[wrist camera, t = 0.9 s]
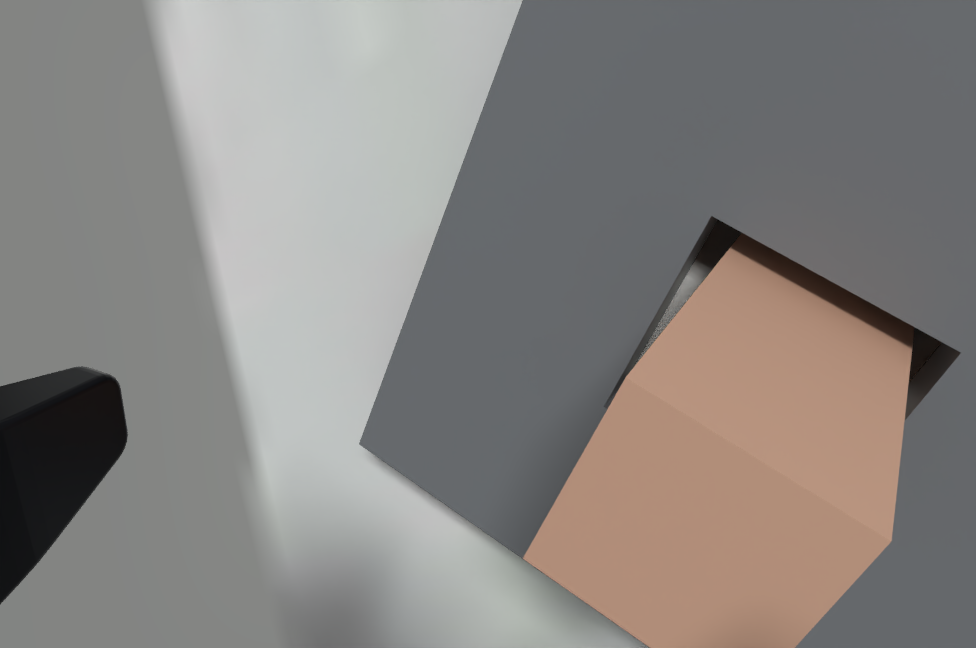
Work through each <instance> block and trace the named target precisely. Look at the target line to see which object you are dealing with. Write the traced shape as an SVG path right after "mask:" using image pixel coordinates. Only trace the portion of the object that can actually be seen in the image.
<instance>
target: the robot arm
mask: <svg viewBox="0 0 976 648" xmlns="http://www.w3.org/2000/svg"><path fill="white" fill-rule="evenodd" d="M127 433H128V432H127V426H126V419H125V413H124V406H123V400H122V394H121V388H120V385H119V383H118V381H117V380H116V378H115V377H113V376H112V375H110V374H107V373H103V372H101V371H98V370H95V369H92V368H89V367H74V368H70V369H66V370H63V371H58V372H55V373H51V374H47V375H43V376H39V377H35V378H32V379H27V380H23V381H20V382H16V383H12V384H8V385H4V386H0V604H1V603H2V602H3V601H4V600H5V599H6V598H7V596H8V595H9V594H10V593H11V592H12V591H13V590H14V589H15V588H16V587H17V586H18V585H19V584H20V582H21V581H22V580H23V579H24V578H25V577H26V576H27V575H28V573H29V572H30V571H31V570H32V569H33V568H34V567H35V566H36V564H37V563H38V562H39V561H40V560H41V558H42V557H43V556H44V555H45V553H46V552H47V550H49V548H50V547H51V546H52V544H53V543H54V542H55V541H56V539H57V538H58V537H59V536H60V534H61V533H62V532H63V530H64V529H65V528H66V526H67V525H68V524H69V522H70V521H71V520H72V518H73V517H74V516H75V515H76V513H77V512H78V511H79V509H80V508H81V507H82V506H83V504H84V503H85V502H86V500H87V499H88V498H89V496H90V495H91V494H92V492H93V491H94V490H95V489H96V487H97V486H98V485H99V483H100V482H101V481H102V480H103V478H104V477H105V476H106V474H107V473H108V472H109V470H110V469H111V467H112V466H113V465H114V464H115V463H116V461H117V460H118V459H119V457H120V456H121V454H122V452H123V450H124V448H125V446H126V442H127V436H128V434H127Z"/></svg>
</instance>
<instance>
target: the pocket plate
mask: <svg viewBox="0 0 976 648" xmlns="http://www.w3.org/2000/svg"><path fill="white" fill-rule="evenodd" d="M717 220H720V221H722V222H724V223H725V224H727V225H729V226H731V227H733V228H735V229H736V230H738V231H740V232H742V233H744V234H745V235H747V236H749V237H751V238H753V239H755V240H756V241H758V242H760V243H762V244H764V245H766V246H767V247H769V248H771V249H773V250H775V251H776V252H778V253H780V254H782V255H784V256H786V257H787V258H789V259H791V260H793V261H795V262H797V263H798V264H800V265H802V266H804V267H806V268H807V269H809V270H811V271H813V272H815V273H817V274H818V275H820V276H822V277H824V278H826V279H828V280H829V281H831V282H833V283H835V284H837V285H839V286H840V287H842V288H844V289H846V290H848V291H849V292H851V293H853V294H855V295H857V296H859V297H860V298H862V299H864V300H866V301H868V302H870V303H871V304H873V305H875V306H877V307H879V308H880V309H882V310H884V311H886V312H888V313H890V314H891V315H893V316H895V317H897V318H899V319H901V320H902V321H904V322H906V323H908V324H910V325H911V326H913V327H915V328H917V329H919V330H921V331H922V332H924V333H926V334H928V335H930V336H932V337H933V338H935V339H937V340H939V341H941V342H942V343H941V344H940V346H939V347H938V348H937V349H936V351H935V352H934V353H933V354H932V356H931V357H930V358H929V359H928V361H927V362H926V363H925V364H924V366H923V367H922V368H921V369H920V371H919V372H918V373H917V374H916V375H915V377H914V378H913V379H912V380H911V382H910V383H909V384H908V393H907V402H906V412H905V421H904V430H903V440H902V449H901V458H900V467H899V477H898V486H897V495H896V505H895V514H894V523H893V532H892V541H891V542H890V544H889V545H888V546H887V547H886V548H885V549H884V550H883V551H882V552H881V553H880V555H879V556H878V557H877V558H876V559H875V560H874V561H873V562H872V563H871V564H870V566H869V567H868V568H867V569H866V570H865V571H864V572H863V573H862V574H861V575H860V577H859V578H858V579H857V580H856V581H855V582H854V583H853V584H852V585H851V586H850V587H849V589H848V590H847V591H846V592H845V593H844V594H843V595H842V596H841V597H840V598H839V600H838V601H837V602H836V603H835V604H834V605H833V606H832V607H831V608H830V609H829V611H828V612H827V613H826V614H825V615H824V616H823V617H822V618H821V619H820V620H819V622H818V623H817V624H816V625H815V626H814V627H813V628H812V629H811V630H810V631H809V633H808V634H807V635H806V636H805V637H804V638H803V639H802V640H801V641H800V642H799V644H798V645H797V646H796V647H795V648H976V0H523V1H522V4H521V7H520V9H519V12H518V15H517V18H516V20H515V23H514V26H513V28H512V31H511V34H510V37H509V39H508V42H507V45H506V47H505V50H504V53H503V56H502V58H501V61H500V64H499V66H498V69H497V72H496V75H495V77H494V80H493V83H492V85H491V88H490V91H489V93H488V96H487V99H486V102H485V104H484V107H483V110H482V112H481V115H480V118H479V121H478V123H477V126H476V129H475V131H474V134H473V137H472V140H471V142H470V145H469V148H468V150H467V153H466V156H465V159H464V161H463V164H462V167H461V169H460V172H459V175H458V178H457V180H456V183H455V186H454V188H453V191H452V194H451V196H450V199H449V202H448V205H447V207H446V210H445V213H444V215H443V218H442V221H441V224H440V226H439V229H438V232H437V234H436V237H435V240H434V243H433V245H432V248H431V251H430V253H429V256H428V259H427V262H426V264H425V267H424V270H423V272H422V275H421V278H420V281H419V283H418V286H417V289H416V291H415V294H414V297H413V299H412V302H411V305H410V308H409V310H408V313H407V316H406V318H405V321H404V324H403V327H402V329H401V332H400V335H399V337H398V340H397V343H396V346H395V348H394V351H393V354H392V356H391V359H390V362H389V365H388V367H387V370H386V373H385V375H384V378H383V381H382V383H381V386H380V389H379V392H378V394H377V397H376V400H375V402H374V405H373V408H372V411H371V413H370V416H369V419H368V421H367V424H366V427H365V430H364V432H363V435H362V438H361V440H360V443H359V444H360V445H361V446H363V447H364V448H365V449H367V450H368V451H370V452H371V453H373V454H374V455H375V456H377V457H378V458H380V459H381V460H383V461H384V462H385V463H387V464H388V465H390V466H391V467H393V468H394V469H395V470H397V471H398V472H400V473H401V474H403V475H404V476H405V477H407V478H408V479H410V480H411V481H413V482H414V483H415V484H417V485H418V486H420V487H421V488H422V489H424V490H425V491H427V492H428V493H430V494H431V495H432V496H434V497H435V498H437V499H438V500H440V501H441V502H442V503H444V504H445V505H447V506H448V507H450V508H451V509H452V510H454V511H455V512H457V513H458V514H460V515H461V516H462V517H464V518H465V519H467V520H468V521H470V522H471V523H472V524H474V525H475V526H477V527H478V528H480V529H481V530H482V531H484V532H485V533H487V534H488V535H490V536H491V537H492V538H494V539H495V540H497V541H498V542H500V543H501V544H502V545H504V546H505V547H507V548H508V549H510V550H511V551H512V552H514V553H515V554H517V555H518V556H520V557H521V558H522V559H523V557H524V555H525V554H526V552H527V550H528V548H529V547H530V545H531V543H532V541H533V540H534V538H535V536H536V534H537V532H538V531H539V529H540V527H541V525H542V524H543V522H544V520H545V518H546V517H547V515H548V513H549V511H550V510H551V508H552V506H553V504H554V503H555V501H556V499H557V497H558V496H559V494H560V492H561V490H562V488H563V487H564V485H565V483H566V481H567V480H568V478H569V476H570V474H571V473H572V471H573V469H574V467H575V466H576V464H577V462H578V460H579V459H580V457H581V455H582V453H583V452H584V450H585V448H586V446H587V444H588V443H589V441H590V439H591V437H592V436H593V434H594V432H595V430H596V429H597V427H598V425H599V423H600V422H601V420H602V418H603V416H604V415H605V413H606V411H607V409H608V408H609V406H610V404H611V402H612V400H613V399H614V397H615V395H616V393H617V392H618V390H619V388H620V386H621V385H622V383H623V381H624V379H625V378H626V376H627V375H628V374H629V373H630V371H631V370H632V369H633V367H634V365H635V364H636V362H637V360H638V358H639V357H640V355H641V353H642V351H643V350H644V348H645V346H646V344H647V343H648V341H649V339H650V337H651V336H652V334H653V332H654V330H655V329H656V327H657V325H658V323H659V322H660V320H661V318H662V316H663V315H664V313H665V311H666V309H667V308H668V306H669V304H670V302H671V301H672V299H673V297H674V295H675V294H676V292H677V290H678V288H679V286H680V285H681V283H682V281H683V279H684V278H685V276H686V274H687V272H688V271H689V269H690V267H691V265H692V264H693V262H694V260H695V258H696V257H697V255H698V253H699V251H700V250H701V248H702V246H703V244H704V243H705V241H706V239H707V237H708V236H709V234H710V232H711V230H712V229H713V227H714V225H715V223H716V222H717ZM525 561H526V560H525ZM532 566H533V565H532ZM535 568H536V567H535ZM542 573H543V572H542ZM552 580H553V579H552ZM562 587H563V586H562ZM569 592H570V591H569ZM572 594H573V593H572ZM579 599H580V598H579ZM582 601H583V600H582ZM589 606H590V605H589ZM592 608H593V607H592ZM599 613H600V612H599ZM602 615H603V614H602ZM609 620H610V619H609ZM612 622H613V621H612ZM619 627H620V626H619ZM622 629H623V628H622ZM629 634H630V633H629ZM632 636H633V635H632ZM639 641H640V640H639ZM642 643H643V642H642ZM649 648H650V647H649Z"/></svg>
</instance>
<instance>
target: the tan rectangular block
mask: <svg viewBox="0 0 976 648" xmlns="http://www.w3.org/2000/svg"><path fill="white" fill-rule="evenodd" d="M914 328H915V327H913V326H911V325H910V324H908V323H906V322H904V321H902V320H901V319H899V318H897V317H895V316H893V315H891V314H890V313H888V312H886V311H884V310H882V309H880V308H879V307H877V306H875V305H873V304H871V303H870V302H868V301H866V300H864V299H862V298H860V297H859V296H857V295H855V294H853V293H851V292H849V291H848V290H846V289H844V288H842V287H840V286H839V285H837V284H835V283H833V282H831V281H829V280H828V279H826V278H824V277H822V276H820V275H818V274H817V273H815V272H813V271H811V270H809V269H807V268H806V267H804V266H802V265H800V264H798V263H797V262H795V261H793V260H791V259H789V258H787V257H786V256H784V255H782V254H780V253H778V252H776V251H775V250H773V249H771V248H769V247H767V246H766V245H764V244H762V243H760V242H758V241H756V240H755V239H753V238H751V237H749V236H747V235H745V234H744V233H741V235H740V236H739V237H738V238H737V240H736V241H735V242H734V243H733V245H732V246H731V247H730V248H729V250H728V251H727V252H726V253H725V255H724V256H723V257H722V258H721V260H720V261H719V262H718V263H717V265H716V266H715V267H714V268H713V269H712V271H711V272H710V273H709V274H708V276H707V277H706V278H705V279H704V281H703V282H702V283H701V284H700V286H699V287H698V288H697V289H696V291H695V292H694V293H693V294H692V296H691V297H690V298H689V299H688V301H687V302H686V303H685V304H684V305H683V307H682V308H681V309H680V310H679V312H678V313H677V314H676V315H675V317H674V318H673V319H672V320H671V322H670V323H669V324H668V325H667V327H666V328H665V329H664V330H663V332H662V333H661V334H660V335H659V337H658V338H657V339H656V340H655V341H654V343H653V344H652V345H651V346H650V348H649V349H648V350H647V351H646V353H645V354H644V355H643V356H642V358H641V359H640V360H639V361H638V363H637V364H636V365H635V366H634V368H633V369H632V370H631V371H630V373H629V374H628V375H627V376H626V378H625V379H624V381H623V383H622V385H621V386H620V388H619V390H618V392H617V393H616V395H615V397H614V399H613V400H612V402H611V404H610V406H609V408H608V409H607V411H606V413H605V415H604V416H603V418H602V420H601V422H600V423H599V425H598V427H597V429H596V430H595V432H594V434H593V436H592V437H591V439H590V441H589V443H588V444H587V446H586V448H585V450H584V452H583V453H582V455H581V457H580V459H579V460H578V462H577V464H576V466H575V467H574V469H573V471H572V473H571V474H570V476H569V478H568V480H567V481H566V483H565V485H564V487H563V488H562V490H561V492H560V494H559V496H558V497H557V499H556V501H555V503H554V504H553V506H552V508H551V510H550V511H549V513H548V515H547V517H546V518H545V520H544V522H543V524H542V525H541V527H540V529H539V531H538V532H537V534H536V536H535V538H534V540H533V541H532V543H531V545H530V547H529V548H528V550H527V552H526V554H525V555H524V557H523V559H524V560H526V561H527V562H528V563H530V564H531V565H533V566H534V567H536V568H537V569H538V570H540V571H541V572H543V573H544V574H545V575H547V576H548V577H550V578H551V579H553V580H554V581H555V582H557V583H558V584H560V585H561V586H563V587H564V588H565V589H567V590H568V591H570V592H571V593H573V594H574V595H575V596H577V597H578V598H580V599H581V600H583V601H584V602H585V603H587V604H588V605H590V606H591V607H593V608H594V609H595V610H597V611H598V612H600V613H601V614H603V615H604V616H605V617H607V618H608V619H610V620H611V621H613V622H614V623H615V624H617V625H618V626H620V627H621V628H623V629H624V630H625V631H627V632H628V633H630V634H631V635H633V636H634V637H635V638H637V639H638V640H640V641H641V642H643V643H644V644H645V645H647V646H648V647H650V648H795V647H796V646H797V645H798V644H799V642H800V641H801V640H802V639H803V638H804V637H805V636H806V635H807V634H808V633H809V631H810V630H811V629H812V628H813V627H814V626H815V625H816V624H817V623H818V622H819V620H820V619H821V618H822V617H823V616H824V615H825V614H826V613H827V612H828V611H829V609H830V608H831V607H832V606H833V605H834V604H835V603H836V602H837V601H838V600H839V598H840V597H841V596H842V595H843V594H844V593H845V592H846V591H847V590H848V589H849V587H850V586H851V585H852V584H853V583H854V582H855V581H856V580H857V579H858V578H859V577H860V575H861V574H862V573H863V572H864V571H865V570H866V569H867V568H868V567H869V566H870V564H871V563H872V562H873V561H874V560H875V559H876V558H877V557H878V556H879V555H880V553H881V552H882V551H883V550H884V549H885V548H886V547H887V546H888V545H889V544H890V542H891V541H892V532H893V523H894V514H895V505H896V495H897V486H898V477H899V467H900V458H901V449H902V440H903V430H904V421H905V412H906V402H907V393H908V384H909V375H910V365H911V356H912V347H913V337H914Z"/></svg>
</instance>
